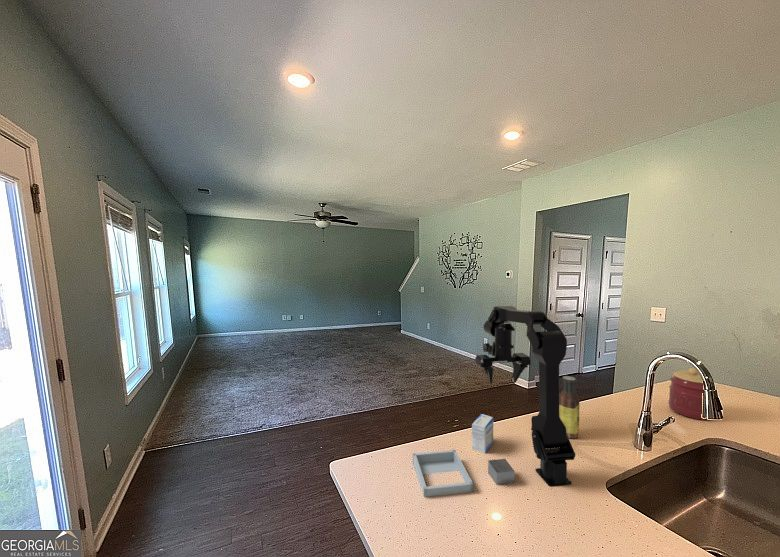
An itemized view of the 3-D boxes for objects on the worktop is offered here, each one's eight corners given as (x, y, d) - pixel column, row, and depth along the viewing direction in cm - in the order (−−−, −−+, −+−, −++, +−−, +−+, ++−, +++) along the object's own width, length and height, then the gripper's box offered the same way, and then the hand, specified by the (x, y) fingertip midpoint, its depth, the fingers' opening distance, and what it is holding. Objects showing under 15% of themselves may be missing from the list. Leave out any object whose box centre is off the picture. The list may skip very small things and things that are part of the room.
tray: (473, 497, 77) (473, 484, 77) (424, 502, 76) (424, 489, 76) (455, 460, 91) (455, 449, 91) (412, 464, 90) (412, 453, 90)
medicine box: (485, 454, 94) (485, 427, 94) (471, 449, 97) (471, 423, 96) (493, 442, 100) (493, 417, 100) (480, 437, 103) (480, 413, 103)
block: (514, 485, 80) (514, 471, 80) (496, 487, 80) (496, 472, 80) (504, 472, 85) (505, 458, 85) (488, 473, 85) (488, 460, 84)
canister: (680, 417, 115) (683, 372, 113) (661, 402, 127) (663, 361, 126) (724, 423, 111) (727, 376, 110) (699, 406, 123) (702, 364, 122)
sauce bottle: (582, 440, 101) (584, 382, 100) (561, 438, 102) (563, 381, 101) (574, 429, 107) (576, 375, 106) (555, 427, 108) (556, 374, 107)
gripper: (515, 334, 117) (514, 373, 119) (469, 336, 115) (469, 375, 116) (532, 342, 106) (531, 385, 107) (482, 344, 104) (481, 388, 105)
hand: (502, 383), depth 109 cm, fingers open, 9 cm apart
